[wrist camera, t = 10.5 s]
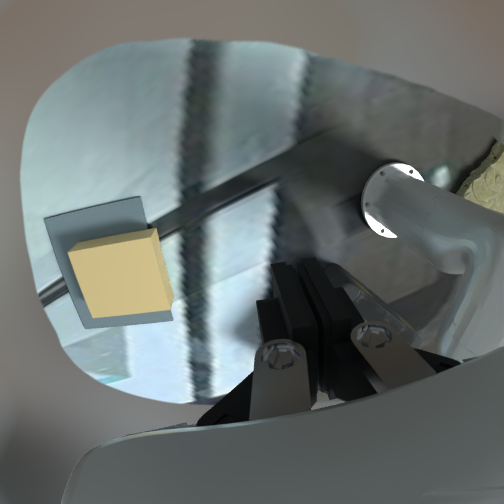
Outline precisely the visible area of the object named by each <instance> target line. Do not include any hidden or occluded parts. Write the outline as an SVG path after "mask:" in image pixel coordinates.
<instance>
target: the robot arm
mask: <svg viewBox="0 0 504 504" xmlns="http://www.w3.org/2000/svg"><path fill="white" fill-rule="evenodd" d="M380 172H381V174H380ZM366 203H367V204H366ZM365 204H366V205H365ZM361 209H362V214H363V217H364V219H365V221H366V223H367V225H368V226H369V227H370V228H371V229H372V230H373V231H375V232H376V233H377V234H379V235H381V236H384V237H392V238H393V237H398V238H399V239H400V240H402V241H403V242H404V243H405V244H407V245H408V246H409V247H410V248H412V249H413V250H414V251H415V252H417V253H418V254H419V255H420V256H422V257H423V258H424V259H425V260H427V261H428V262H429V263H430V264H432V265H433V266H434V267H435V268H437V269H438V270H440V271H442V272H445V273H449V274H463V273H464V275H463V277H462V280H461V282H460V286H459V288H458V290H457V292H456V294H455V297H454V299H453V301H452V303H451V305H450V307H449V309H448V311H447V313H446V315H445V318H444V320H443V322H442V324H441V326H440V328H439V330H438V333H437V336H436V343H435V346H436V351H437V354H434V353H430V352H427V351H423V350H419V349H416V348H412V347H411V346H410V345H409V344H408V342H407V341H406V340H405V339H404V338H403V337H402V336H401V335H400V334H399V333H398V332H397V331H396V330H395V329H394V328H392V327H391V326H390V325H388V324H385V323H383V322H378V321H368V322H365V321H364V319H363V318H362V316H361V314H360V313H359V311H358V310H357V308H356V307H355V305H354V304H353V302H352V300H351V299H350V297H349V296H348V294H347V293H346V291H345V290H344V288H343V287H341V286H340V287H335V288H334V287H333V285H332V284H331V282H330V280H329V279H328V277H327V276H326V274H325V272H324V271H323V269H322V267H321V266H320V264H319V263H318V261H317V260H316V258H315V257H313V258H307V259H301V260H300V263H299V264H295V271H296V274H295V271H294V269H293V267H292V265H286V262H281V263H275V264H271V275H272V284H273V293H274V298H271V299H264V300H258V301H256V304H257V311H258V318H259V324H260V331H261V337H262V343H263V345H262V346H261V347H260V348H259V349H258V350H257V351H256V354H255V359H254V371H253V372H252V373H251V374H250V375H248V376H247V377H246V378H245V379H244V380H243V381H242V382H241V383H240V384H238V385H237V386H236V387H235V388H234V389H233V390H232V391H231V392H229V393H228V394H227V395H226V396H225V397H224V398H223V399H221V400H220V401H219V402H218V403H217V404H216V405H214V406H213V407H212V408H211V409H210V410H209V411H207V412H206V413H205V414H204V415H203V416H202V417H201V418H200V419H199V420H198V422H197V423H196V424H192V425H187V423H181V424H177V425H173V426H169V427H164V428H160V429H155V430H150V431H145V432H141V433H136V434H130V435H126V436H123V437H121V438H118V439H114V440H111V441H108V442H105V443H103V444H101V445H98V446H96V447H94V448H92V449H91V450H89V451H88V452H87V453H85V454H84V455H83V456H82V457H81V458H80V460H79V461H78V463H77V464H76V466H75V468H74V470H73V471H72V474H71V476H70V478H69V481H68V483H67V486H66V489H65V492H64V495H63V498H62V502H61V504H504V213H501V212H498V211H495V210H492V209H489V208H486V207H484V206H481V205H479V204H477V203H474V202H472V201H470V200H467V199H465V198H463V197H460V196H458V195H456V194H453V193H451V192H449V191H446V190H444V189H442V188H439V187H437V186H435V185H432V184H430V183H427V182H425V181H424V180H423V178H422V177H421V175H420V174H419V172H418V171H416V170H415V169H414V168H413V167H411V166H409V165H407V164H404V163H398V162H394V163H388V164H385V165H383V166H381V167H379V168H378V169H377V170H376V171H374V172H373V173H372V175H371V176H370V177H369V178H368V180H367V182H366V184H365V186H364V189H363V192H362V197H361ZM318 384H319V387H320V390H321V392H327V394H328V397H329V400H332V399H336V398H339V399H341V400H344V403H341V404H337V405H333V406H328V407H324V408H320V409H315V410H311V408H312V406H313V405H314V404H315V403H316V402H317V393H318Z"/></svg>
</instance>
